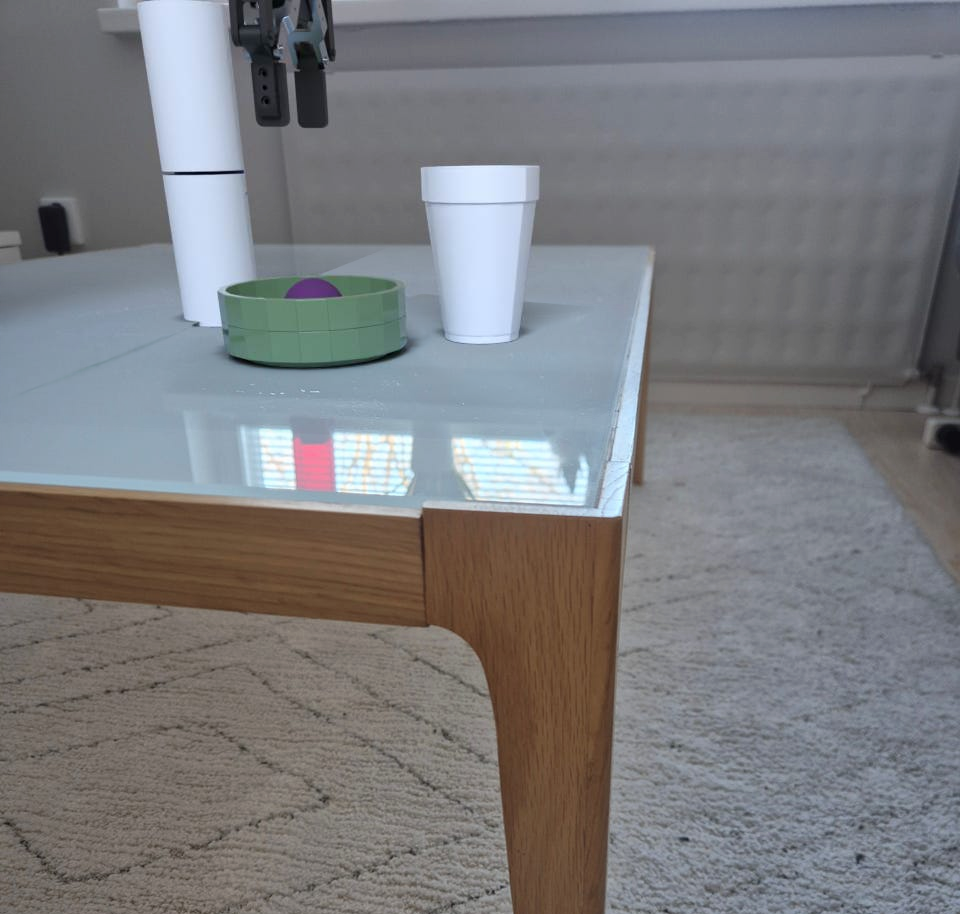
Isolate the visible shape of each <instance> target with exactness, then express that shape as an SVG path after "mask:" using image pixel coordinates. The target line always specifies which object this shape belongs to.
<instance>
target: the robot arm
mask: <svg viewBox="0 0 960 914" xmlns="http://www.w3.org/2000/svg"><path fill="white" fill-rule="evenodd" d="M227 1H228V10H229V11H228V12H229V23H230V24H229V25H230V36H231V40H232V43H233V44H232V45H234V47H236V48H242V50H243V55H244V57H245V59H246V61H251V62H250V73H251V84H252V85H251V86H252V94H253V104H254V105H253V106H254V115H255V122H256V123H257V125H259V127H264V128H286V127H288V126H289V125H290V123H291V112H290V99H289V88H288V86H289V85H288V76H287V63H286V62H280V61H284V60H285V56H286V52H287V48H288V52H289V55H290V58H291V62H292V66H293V69H294V71H293V76H294V89H295V104H296V105H295V106H296V117H297V123H298V125H299V126H300V127H301V128H303V129H325V128H327V127H328V126H329V110H328V109H329V107H328V93H327V92H328V89H327V78H326V77H327V76H326V75H327V74H326V71H328V70H329V66H330V63H334V62H335V61H336V56H337V51H336V50H337V49H336V43H335V42H336V41H335V31H334V30H335V29H334V14H333V3H332V0H227Z"/></svg>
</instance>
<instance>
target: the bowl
mask: <svg viewBox="0 0 960 914" xmlns="http://www.w3.org/2000/svg"><path fill="white" fill-rule="evenodd" d="M306 278H319V279H323V280H325V281H328V282H329V283H331V284H332V285H334V286H335V287H336V288H337V289H338V290H339V292H340V293H341V295H342V296H343V297H330V298H306V299H284V297H285V295H286V293H287V291H288V290H289V289H290V288H291V287H292V286H293V285H294V284H295V283H296V282H298V281H300V280H303V279H306ZM405 287H406V286H405V284H404V283H403V281H401V280H397V279H394V278H390V277H381V276H375V275H357V274H310V275H309V274H308V275H306V274H305V275H290V276H273V277H266V278H257V279H255V280H248V281H243V282H237V283H232V284H229V285H226V286H223V287H220V288H219V290H218V291H217V293H218V301H219V308H220V316H221V321H222V322H221V323H222V327H221V330H222V337H223V345H224V351H225V352H227V353H228V354H229V355H231V356H232V357H236V358H239V359H244V360H247V361H249V362H251V363H254V364H257V365H263V366H270V367H279V368H304V369H305V368H328V367H340V366H348V365H355V364H361V363H366V362H370V361H374V360H378V359H381V358H383V357H385V356H387V355H388V354H389V353H392V352H396V351H399V350H401V349H403V348H404V347H405V346H406V345H407V344H408V330H407V329H408V328H407V315H406V314H407V308H406V307H407V305H406V288H405Z"/></svg>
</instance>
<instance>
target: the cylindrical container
mask: <svg viewBox="0 0 960 914" xmlns="http://www.w3.org/2000/svg"><path fill="white" fill-rule="evenodd" d="M136 11H137V19H138V24H139V30H140V37H141V44H142V50H143V57H144V63H145V70H146V76H147V84H148V89H149V96H150V102H151V109H152V116H153V121H154V128H155V135H156V142H157V149H158V156H159V161H160V162H159V163H160V169H161V172H170V173H166V174H162V181H163V187H164V188H163V189H164V194H165V201H166V208H167V214H168V220H169V221H168V222H169V227H170V233H171V234H170V235H171V240H172V247H173V253H174V260H175V267H176V273H177V280H178V287H179V293H180V294H179V295H180V298H181V300H180V301H181V307H182V313H183V318H184V320H186V321H190V322H196V323H193V324H191V326H192V327H202V328H203V327H205V328H219V327H221V328H222V323H221V322H222V321H221V316H220V308H219V301H218V293H217V291H218V290H219V288H220V287H223V286H226V285H229V284H232V283H237V282H243V281H248V280H255V279H258V273H257V265H256V255H255V249H254V237H253V232H252V222H251V213H250V204H249V195H248V194H246V193H247V192H248V187H247V178H246V170H245V161H244V152H243V145H242V144H243V143H242V135H241V126H240V117H239V108H238V99H237V91H236V84H235V73H234V67H233V57H232V48H231V40H230V32H229V22H228V15H227V5H225V4H223V3H221V2H214V1H207V0H206V1H205V0H145V1H140V2H137V3H136ZM172 172H173V173H172Z"/></svg>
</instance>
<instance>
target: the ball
mask: <svg viewBox="0 0 960 914" xmlns="http://www.w3.org/2000/svg"><path fill="white" fill-rule="evenodd" d="M330 297H343V296H342V295H341V293H340V292H339V290H338V289H337V288H336V287H335V286H334V285H332V284H331V283H329V282H328V281H325V280H323V279H319V278H306V279H303V280H300V281H298V282H296V283H295V284H294V285H293V286H292V287H291V288H290V289H289V290H288V291H287V293H286V295H285V297H284V299H306V298H330Z"/></svg>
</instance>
